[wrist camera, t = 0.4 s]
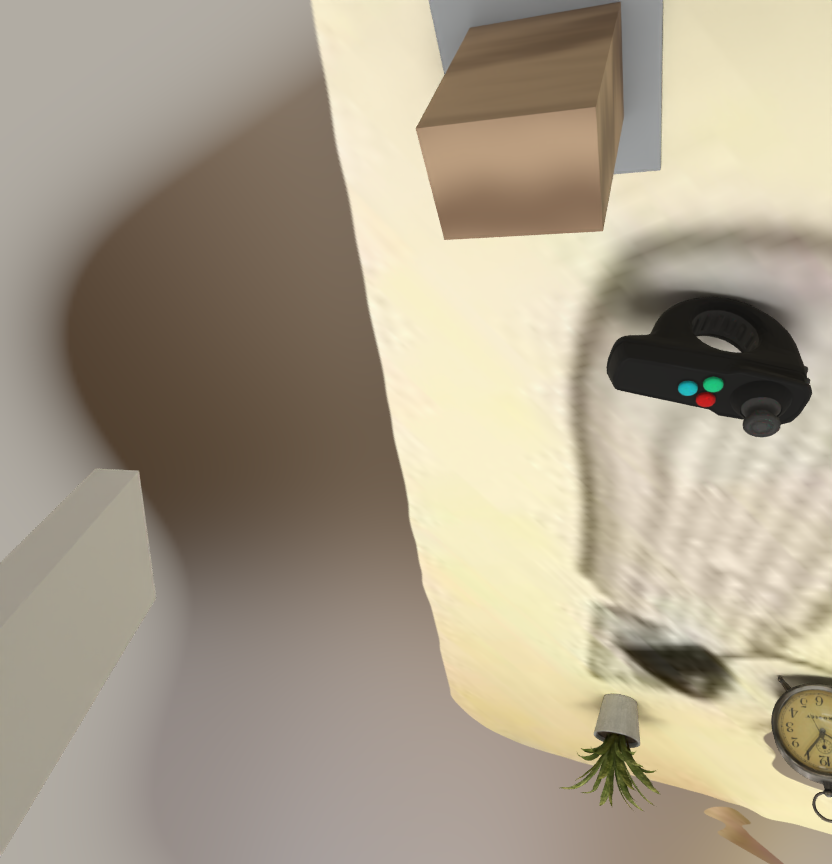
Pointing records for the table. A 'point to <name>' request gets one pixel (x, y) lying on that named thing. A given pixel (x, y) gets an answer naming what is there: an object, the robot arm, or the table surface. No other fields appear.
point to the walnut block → (527, 126)
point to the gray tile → (641, 56)
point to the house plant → (616, 748)
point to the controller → (717, 364)
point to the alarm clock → (806, 732)
